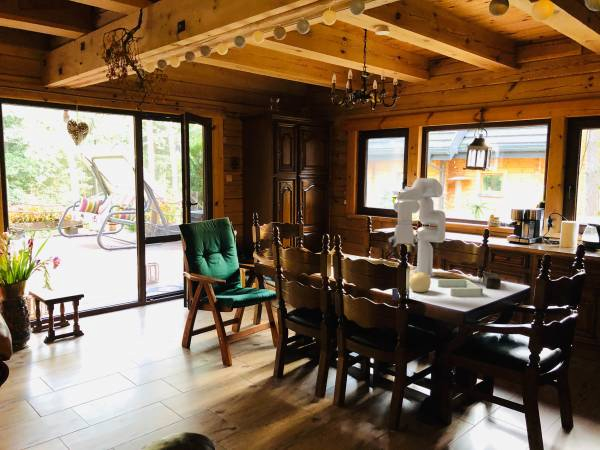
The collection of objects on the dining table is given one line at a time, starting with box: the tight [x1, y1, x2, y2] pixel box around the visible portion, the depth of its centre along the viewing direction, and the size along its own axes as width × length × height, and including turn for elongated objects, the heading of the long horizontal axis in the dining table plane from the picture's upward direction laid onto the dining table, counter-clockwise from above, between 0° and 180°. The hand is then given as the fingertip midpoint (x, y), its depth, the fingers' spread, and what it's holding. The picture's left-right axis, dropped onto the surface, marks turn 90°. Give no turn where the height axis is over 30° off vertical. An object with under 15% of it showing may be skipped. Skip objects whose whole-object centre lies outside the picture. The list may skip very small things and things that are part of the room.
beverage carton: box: [482, 271, 502, 290], centre depth 287 cm, size 8×19×7 cm, turn 166°
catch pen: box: [437, 278, 484, 297], centre depth 274 cm, size 22×17×4 cm
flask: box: [391, 288, 410, 301], centre depth 255 cm, size 9×3×11 cm, turn 96°
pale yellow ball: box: [408, 272, 432, 293], centre depth 272 cm, size 11×12×11 cm
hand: (403, 253), depth 270 cm, fingers open, 9 cm apart
